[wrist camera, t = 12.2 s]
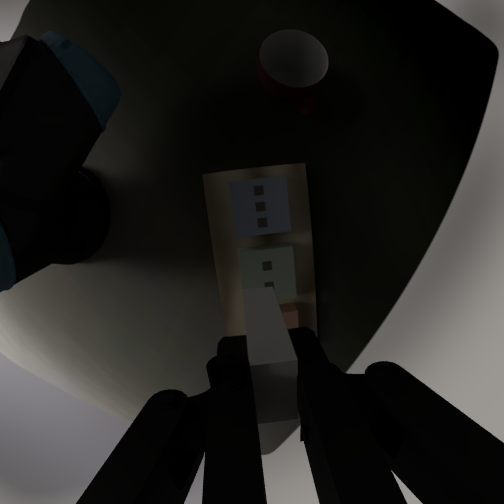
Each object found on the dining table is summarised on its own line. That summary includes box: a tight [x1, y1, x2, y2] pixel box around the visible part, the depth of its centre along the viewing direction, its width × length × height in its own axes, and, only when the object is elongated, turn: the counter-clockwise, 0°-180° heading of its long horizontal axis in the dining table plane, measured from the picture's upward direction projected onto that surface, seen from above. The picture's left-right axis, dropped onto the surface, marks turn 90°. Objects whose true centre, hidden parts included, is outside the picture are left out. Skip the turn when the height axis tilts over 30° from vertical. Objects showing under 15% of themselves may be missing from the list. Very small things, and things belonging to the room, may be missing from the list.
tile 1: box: [279, 303, 299, 329], centre depth 42 cm, size 7×7×3 cm
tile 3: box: [229, 175, 291, 238], centre depth 38 cm, size 7×7×3 cm
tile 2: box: [238, 242, 297, 300], centre depth 40 cm, size 7×7×3 cm
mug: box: [257, 29, 329, 116], centre depth 32 cm, size 11×8×10 cm
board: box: [202, 163, 317, 337], centre depth 42 cm, size 14×28×3 cm, turn 7°
